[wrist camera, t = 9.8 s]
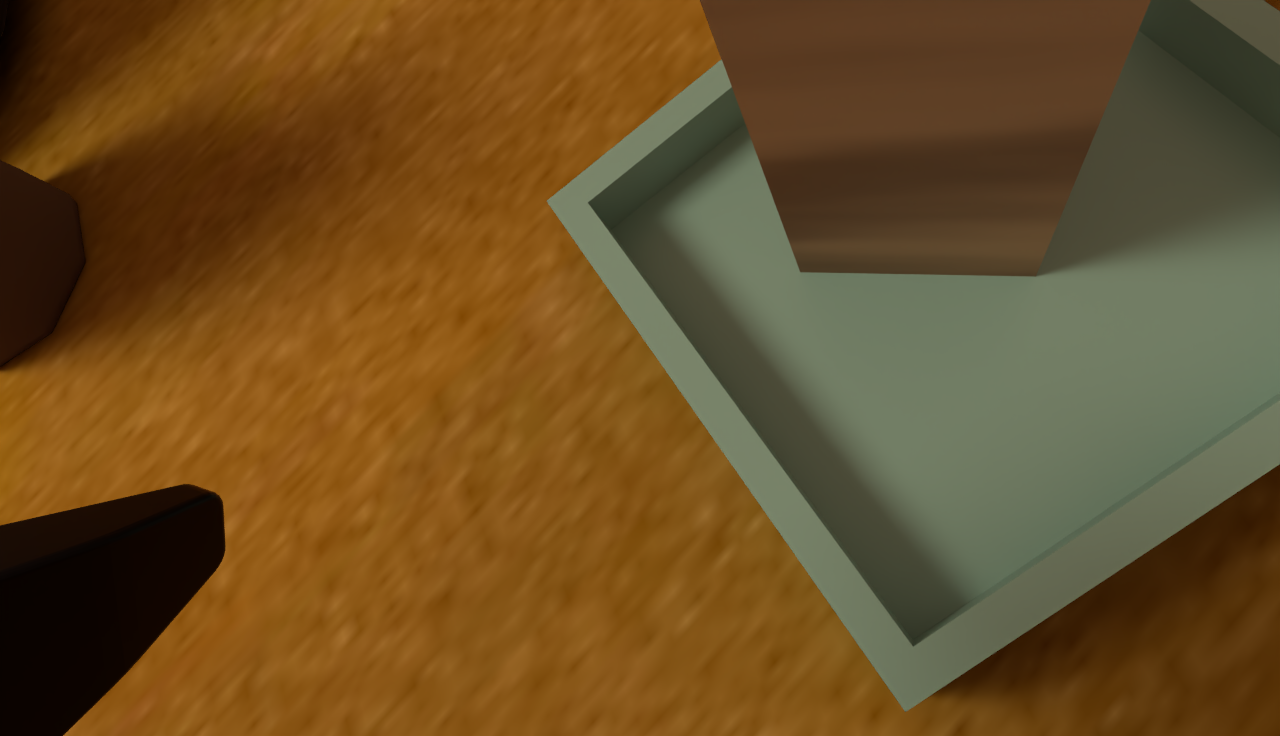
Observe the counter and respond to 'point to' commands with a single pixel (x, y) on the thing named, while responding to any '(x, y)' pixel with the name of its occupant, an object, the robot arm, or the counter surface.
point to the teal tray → (977, 350)
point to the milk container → (3, 14)
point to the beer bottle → (34, 258)
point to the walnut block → (922, 122)
